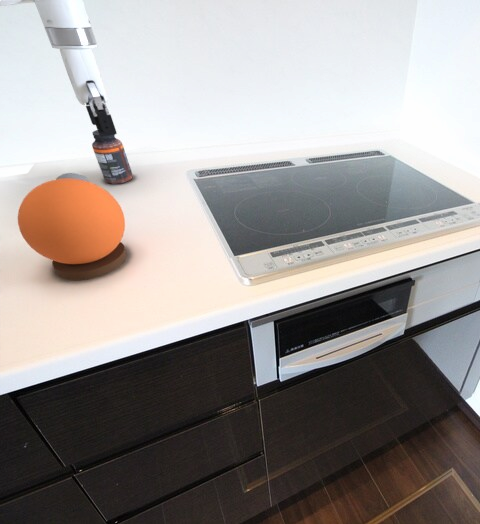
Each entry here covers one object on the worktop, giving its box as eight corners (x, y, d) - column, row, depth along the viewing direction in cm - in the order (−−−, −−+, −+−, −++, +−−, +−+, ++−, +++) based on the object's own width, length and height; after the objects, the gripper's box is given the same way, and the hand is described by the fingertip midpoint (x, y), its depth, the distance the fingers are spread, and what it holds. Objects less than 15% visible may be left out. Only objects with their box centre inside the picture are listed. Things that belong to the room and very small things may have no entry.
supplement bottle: (125, 172, 90) (110, 125, 83) (138, 179, 87) (123, 131, 80) (100, 179, 86) (81, 131, 79) (112, 186, 83) (95, 136, 76)
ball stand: (47, 297, 52) (-2, 211, 44) (41, 255, 60) (-2, 175, 52) (145, 268, 59) (117, 188, 51) (128, 233, 67) (101, 160, 59)
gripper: (45, 34, 73) (79, 122, 83) (52, 43, 62) (90, 142, 72) (88, 34, 77) (116, 118, 87) (102, 42, 66) (131, 137, 76)
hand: (104, 129), depth 80 cm, fingers open, 9 cm apart
